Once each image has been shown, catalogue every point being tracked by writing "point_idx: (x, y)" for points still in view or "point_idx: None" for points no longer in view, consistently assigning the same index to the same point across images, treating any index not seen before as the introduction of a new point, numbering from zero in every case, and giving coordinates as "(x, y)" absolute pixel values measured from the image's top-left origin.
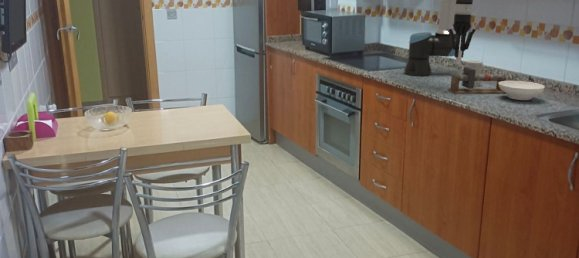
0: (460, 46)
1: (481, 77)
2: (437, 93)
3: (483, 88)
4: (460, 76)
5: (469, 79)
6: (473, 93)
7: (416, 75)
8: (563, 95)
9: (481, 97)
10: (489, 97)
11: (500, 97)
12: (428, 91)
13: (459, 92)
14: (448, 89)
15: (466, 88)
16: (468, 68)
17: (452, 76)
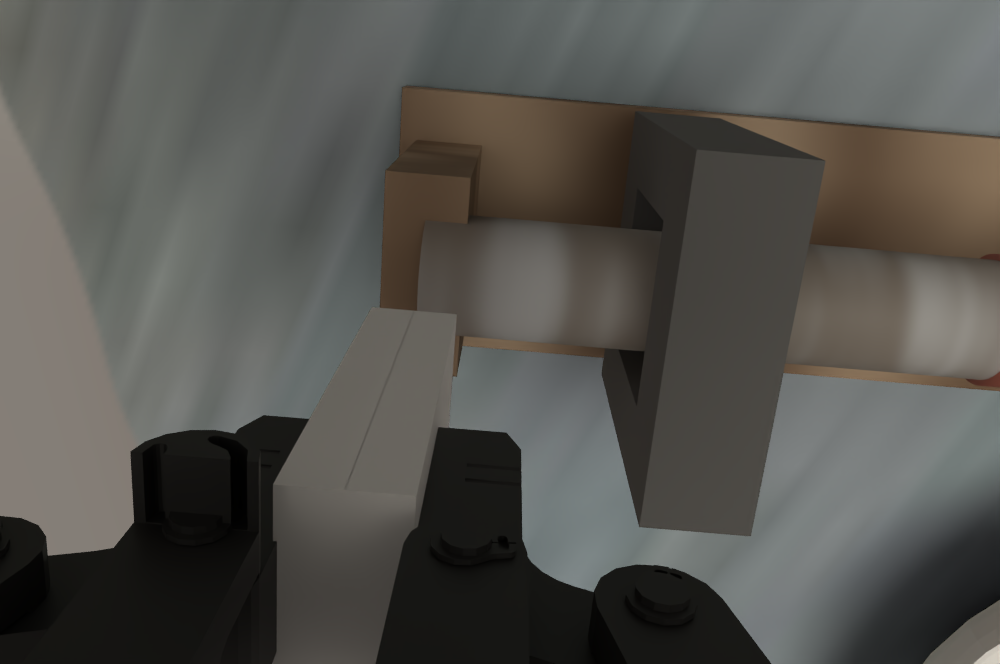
0: (381, 656)
1: (905, 373)
2: (166, 272)
3: (993, 142)
4: (492, 337)
5: (618, 425)
6: None
7: None
8: None
9: (653, 553)
10: (755, 563)
11: (896, 577)
12: (72, 121)
13: (466, 343)
14: (403, 100)
15: (709, 115)
16: (695, 354)
17: (384, 213)
